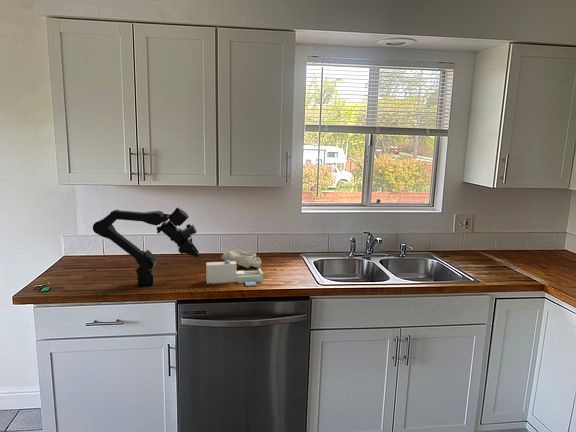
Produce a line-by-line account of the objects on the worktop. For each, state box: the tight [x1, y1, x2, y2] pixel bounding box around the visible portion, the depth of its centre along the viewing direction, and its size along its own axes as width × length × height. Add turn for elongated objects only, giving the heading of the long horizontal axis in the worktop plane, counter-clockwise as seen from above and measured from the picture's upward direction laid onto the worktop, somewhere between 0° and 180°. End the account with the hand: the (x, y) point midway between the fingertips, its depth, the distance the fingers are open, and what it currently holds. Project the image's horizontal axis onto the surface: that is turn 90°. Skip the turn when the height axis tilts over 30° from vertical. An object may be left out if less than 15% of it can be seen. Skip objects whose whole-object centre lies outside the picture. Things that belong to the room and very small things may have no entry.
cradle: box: [237, 267, 264, 288], centre depth 205 cm, size 12×20×4 cm, turn 13°
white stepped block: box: [205, 260, 245, 285], centre depth 202 cm, size 18×4×10 cm, turn 103°
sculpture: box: [220, 249, 263, 269], centre depth 229 cm, size 24×11×15 cm
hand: (198, 254), depth 197 cm, fingers open, 6 cm apart
